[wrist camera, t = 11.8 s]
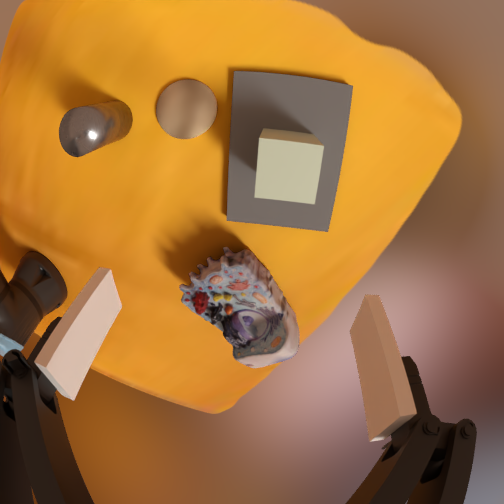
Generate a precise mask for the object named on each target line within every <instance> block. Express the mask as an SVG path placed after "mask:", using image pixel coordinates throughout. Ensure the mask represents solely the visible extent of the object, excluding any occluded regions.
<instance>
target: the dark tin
mask: <svg viewBox="0 0 504 504" xmlns="http://www.w3.org/2000/svg"><path fill="white" fill-rule="evenodd" d="M132 121H133V118H132V113H131V110H130V108H129V107H128V106H127V105H126V104H125V103H124V102H122V101H110V102H104V103H98V104H93V105H87V106H82V107H78V108H74V109H71V110H69V111H68V112H67V113H66V114H65V115H64V117H63V118H62V121H61V123H60V128H59V138H60V142H61V145H62V147H63V149H64V150H65V151H66V152H67V153H68V154H69V155H71V156H74V157H80V156H83V155H85V154H87V153H89V152H92V151H94V150H96V149H98V148H101V147H103V146H105V145H108V144H110V143H113V142H115V141H118V140H120V139H122V138H124V137H125V136H126V135H127V134H128V133H129V131H130V129H131V126H132Z"/></svg>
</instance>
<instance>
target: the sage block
mask: <svg viewBox="0 0 504 504" xmlns="http://www.w3.org/2000/svg"><path fill="white" fill-rule="evenodd" d="M323 150H324V145H323V144H322V143H321V142H320V141H319V140H318V139H317V137H316V136H315V135H314V134H308V133H301V132H294V131H285V130H276V129H266V128H263V131H262V133H261V135H260V137H259V147H258V159H257V172H256V184H255V198H264V199H274V200H283V201H291V202H300V203H308V204H315V199H316V194H317V188H318V182H319V176H320V169H321V163H322V157H323Z"/></svg>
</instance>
